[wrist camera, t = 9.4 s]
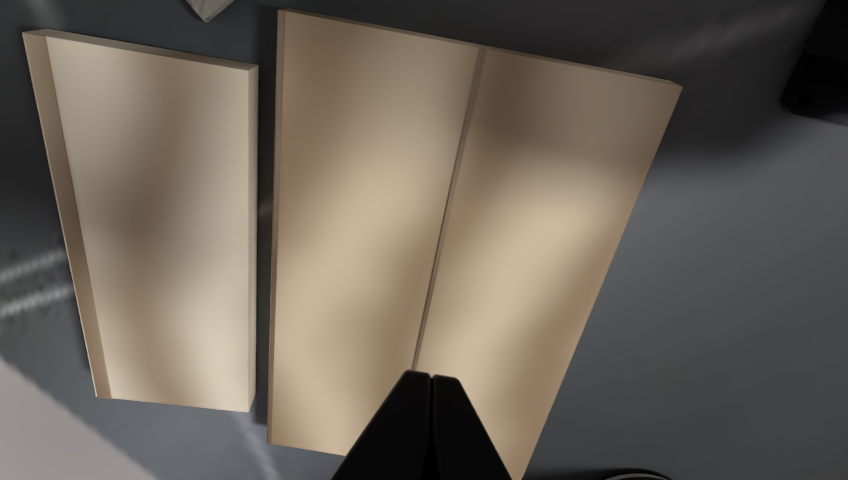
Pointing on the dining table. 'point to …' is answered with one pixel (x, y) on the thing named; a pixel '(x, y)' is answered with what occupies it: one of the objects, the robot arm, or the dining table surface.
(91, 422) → the dining table surface
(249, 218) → the plank
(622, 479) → the beverage can
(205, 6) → the packaged product
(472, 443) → the robot arm
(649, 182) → the dining table surface
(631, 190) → the laid floor
